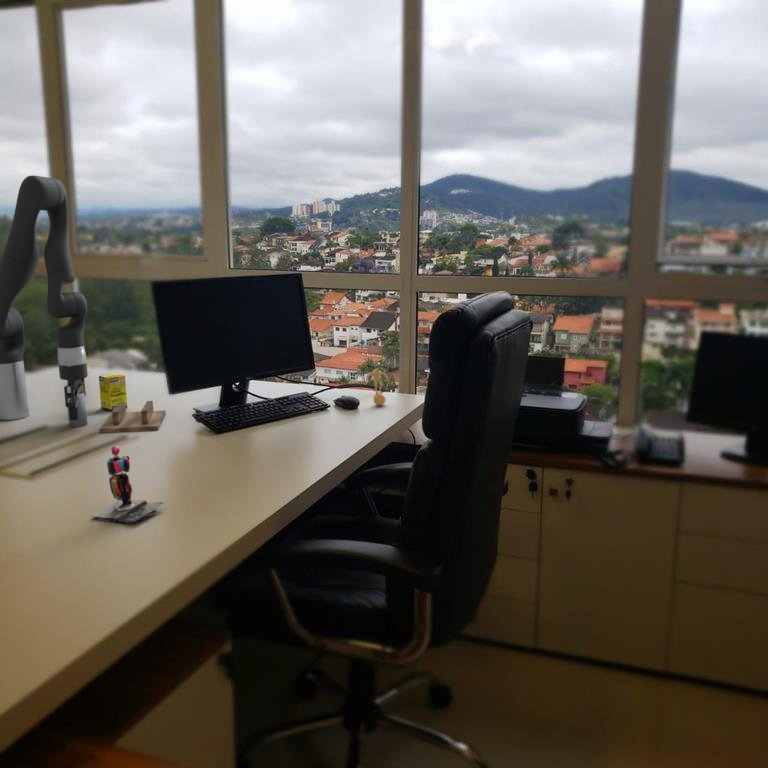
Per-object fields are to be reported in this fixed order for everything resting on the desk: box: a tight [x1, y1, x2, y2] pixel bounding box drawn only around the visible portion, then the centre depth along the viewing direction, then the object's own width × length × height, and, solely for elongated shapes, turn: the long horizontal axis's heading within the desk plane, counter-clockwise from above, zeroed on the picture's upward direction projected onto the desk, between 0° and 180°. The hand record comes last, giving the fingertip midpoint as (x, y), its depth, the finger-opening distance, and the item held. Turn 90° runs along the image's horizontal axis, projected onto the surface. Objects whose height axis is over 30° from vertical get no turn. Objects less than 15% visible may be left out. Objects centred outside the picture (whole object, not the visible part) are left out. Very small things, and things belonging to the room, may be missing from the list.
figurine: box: [365, 367, 391, 406], centre depth 239 cm, size 8×6×12 cm
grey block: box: [66, 393, 88, 428], centre depth 216 cm, size 5×5×9 cm
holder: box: [99, 400, 167, 434], centre depth 218 cm, size 16×18×5 cm
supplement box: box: [98, 372, 128, 413], centre depth 234 cm, size 6×6×11 cm
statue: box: [90, 445, 165, 525], centre depth 149 cm, size 11×9×15 cm
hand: (77, 416), depth 216 cm, fingers open, 8 cm apart
